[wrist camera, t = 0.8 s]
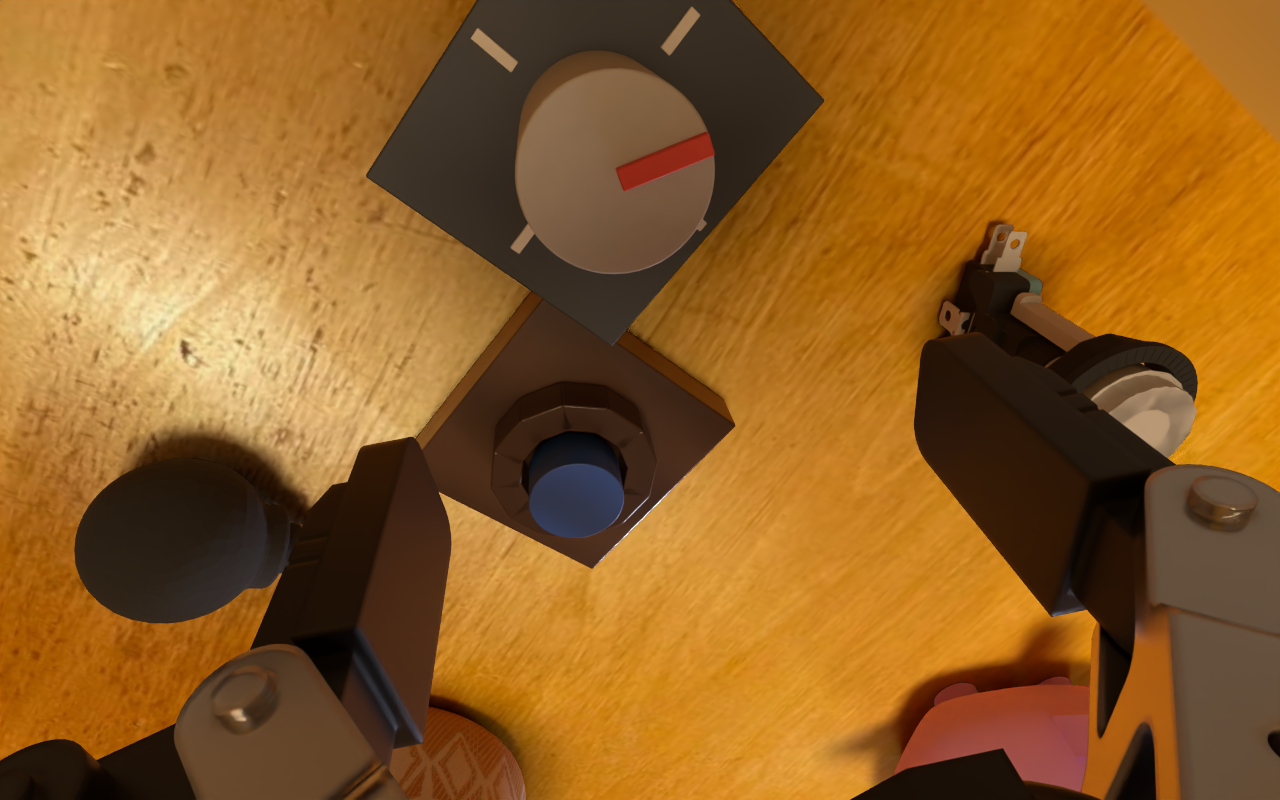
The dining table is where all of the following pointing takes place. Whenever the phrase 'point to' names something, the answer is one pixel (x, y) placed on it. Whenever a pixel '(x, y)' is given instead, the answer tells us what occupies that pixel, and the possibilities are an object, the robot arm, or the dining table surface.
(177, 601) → the light bulb
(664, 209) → the dimmer
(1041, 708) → the teapot
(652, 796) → the dining table surface
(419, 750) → the planter
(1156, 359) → the push button
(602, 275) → the dimmer panel
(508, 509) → the switch block
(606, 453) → the switch button
